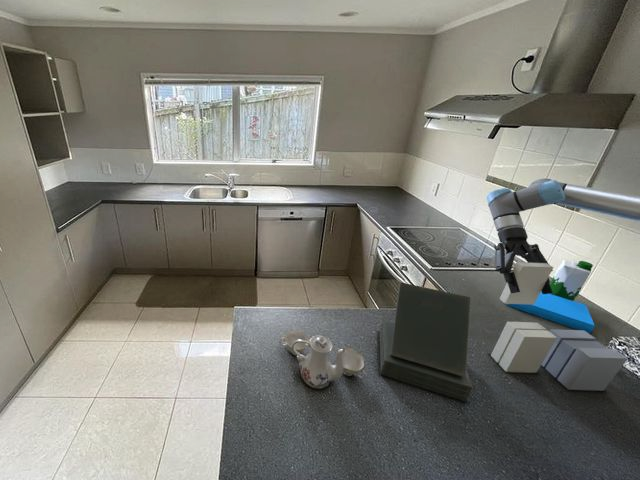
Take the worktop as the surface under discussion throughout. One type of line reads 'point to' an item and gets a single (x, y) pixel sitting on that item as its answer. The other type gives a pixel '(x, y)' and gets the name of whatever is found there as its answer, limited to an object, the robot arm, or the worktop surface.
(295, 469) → the worktop surface
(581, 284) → the milk carton
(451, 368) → the dark grey display stand
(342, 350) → the chinaware
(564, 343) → the grey books
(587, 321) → the book
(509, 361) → the white books
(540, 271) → the thin white book
